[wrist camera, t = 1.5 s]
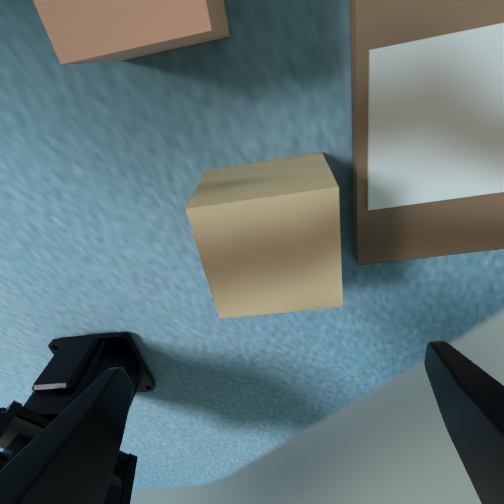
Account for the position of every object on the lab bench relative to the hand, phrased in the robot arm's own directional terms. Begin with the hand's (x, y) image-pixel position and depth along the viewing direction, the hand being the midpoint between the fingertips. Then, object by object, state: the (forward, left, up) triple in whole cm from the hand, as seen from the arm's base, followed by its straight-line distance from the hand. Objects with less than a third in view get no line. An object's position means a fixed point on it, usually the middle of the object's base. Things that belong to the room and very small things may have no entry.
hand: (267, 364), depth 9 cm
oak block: (0, 0, -10) cm, 10 cm away
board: (+4, -9, -10) cm, 14 cm away
